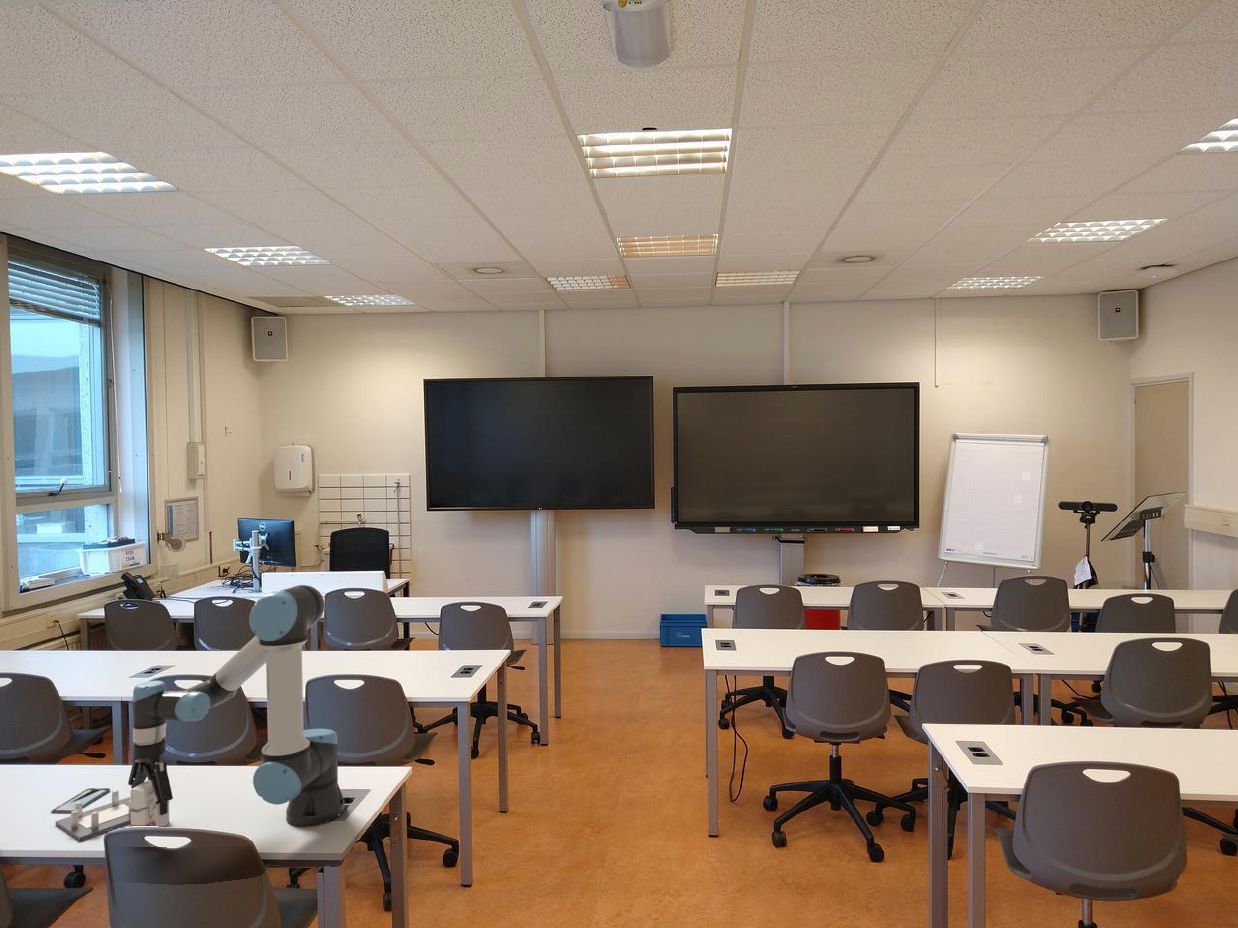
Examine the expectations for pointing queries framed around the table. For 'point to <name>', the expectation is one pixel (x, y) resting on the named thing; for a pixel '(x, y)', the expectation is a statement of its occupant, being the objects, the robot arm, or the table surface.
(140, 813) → the ink box
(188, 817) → the table surface
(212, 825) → the table surface
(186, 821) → the table surface
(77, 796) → the smartphone
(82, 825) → the pin tray
